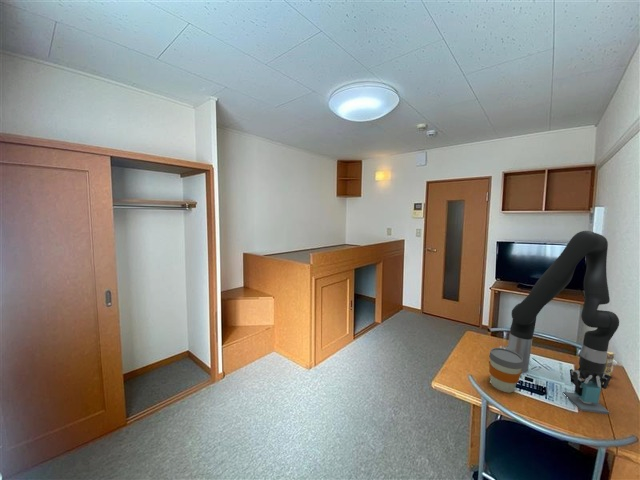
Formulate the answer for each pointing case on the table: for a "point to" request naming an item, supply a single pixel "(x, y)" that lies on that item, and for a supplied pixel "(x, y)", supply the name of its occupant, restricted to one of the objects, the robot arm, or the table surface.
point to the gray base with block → (586, 404)
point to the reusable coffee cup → (505, 369)
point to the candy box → (609, 363)
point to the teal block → (590, 392)
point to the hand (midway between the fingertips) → (586, 395)
